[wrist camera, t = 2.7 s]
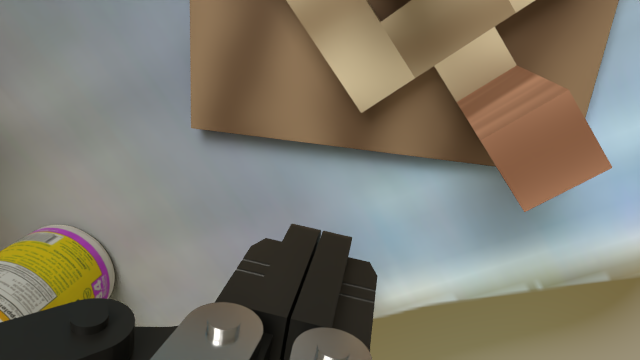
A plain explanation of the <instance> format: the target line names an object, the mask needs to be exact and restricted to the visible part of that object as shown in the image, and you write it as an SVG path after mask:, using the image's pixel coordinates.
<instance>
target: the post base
mask: <svg viewBox="0 0 640 360" xmlns="http://www.w3.org/2000/svg"><path fill="white" fill-rule="evenodd" d="M410 1H411V0H368V2H369V3H370V5H371V7H372V8H373V10H374V11H375V13H376V15H377V16H378V18H379V19H380V21H383V20H384V19H386V18H387V17H389V16H390V15H391V14H393V13H394V12H396V11H397V10H398V9H400V8H401V7H403V6H404V5H405V4H407V3H408V2H410ZM618 1H619V0H535V1H533V2H532V3H530V4H529V5H527V6H526V7H524V8H523V9H521V10H519V11H518V12H516V13H515V14H513V15H512V16H510V17H509V18H507V19H506V20H504V21H503V22H501V23H499V24H498V25H496V26H495V28H496V30H497V32H498V33H499V35H500V37H501V39H502V40H503V42H504V44H505V46H506V47H507V49H508V51H509V53H510V54H511V56H512V58H513V60H514V61H515V63H516V65H517V66H519V67H522V68H524V69H526V70H528V71H530V72H532V73H534V74H537V75H539V76H541V77H543V78H545V79H547V80H549V81H551V82H554V83H556V84H558V85H560V86H562V87H564V88H566V89H569V91H570V93H571V94H572V96H573V98H574V100H575V102H576V103H577V105H578V107H579V109H580V110H581V112H582V114H583V116H584V118H585V117H586V113H587V110H588V106H589V103H590V99H591V96H592V92H593V89H594V85H595V82H596V78H597V75H598V71H599V68H600V64H601V61H602V57H603V54H604V50H605V47H606V43H607V40H608V36H609V33H610V29H611V26H612V22H613V19H614V15H615V12H616V8H617V5H618ZM190 56H191V128H195V129H203V130H211V131H219V132H227V133H235V134H242V135H250V136H258V137H266V138H274V139H282V140H290V141H298V142H306V143H314V144H322V145H330V146H338V147H346V148H353V149H361V150H369V151H377V152H385V153H393V154H401V155H409V156H417V157H425V158H433V159H441V160H449V161H456V162H464V163H472V164H480V165H488V166H496V165H495V164H494V162H493V161H492V159H491V157H490V156H489V154H488V152H487V151H486V149H485V148H484V146H483V144H482V143H481V141H480V140H479V138H478V136H477V135H476V133H475V131H474V130H473V128H472V127H471V125H470V123H469V122H468V120H467V118H466V117H465V115H464V114H463V112H462V110H461V109H460V107H459V105H458V104H457V102H456V101H455V99H454V97H453V96H452V94H451V92H450V91H449V89H448V88H447V86H446V84H445V83H444V81H443V79H442V78H441V76H440V75H439V73H438V71H437V70H436V68H435V66H433V67H432V68H430V69H429V70H427V71H425V72H424V73H422V74H421V75H419V76H418V77H416V78H415V79H413V80H412V81H410V82H409V83H407V84H405V85H404V86H402V87H401V88H399V89H398V90H396V91H395V92H393V93H392V94H390V95H388V96H387V97H385V98H384V99H382V100H381V101H379V102H378V103H376V104H375V105H373V106H372V107H370V108H368V109H367V110H365V111H364V112H362V113H361V112H360V111H359V109H358V108H357V106H356V104H355V103H354V101H353V100H352V98H351V97H350V95H349V94H348V92H347V91H346V89H345V88H344V86H343V85H342V83H341V82H340V80H339V79H338V77H337V76H336V74H335V73H334V71H333V70H332V68H331V67H330V65H329V64H328V62H327V61H326V59H325V58H324V56H323V55H322V53H321V52H320V50H319V49H318V47H317V46H316V44H315V43H314V41H313V40H312V38H311V37H310V35H309V34H308V32H307V31H306V29H305V28H304V26H303V25H302V23H301V22H300V20H299V19H298V17H297V16H296V14H295V13H294V11H293V10H292V8H291V7H290V5H289V4H288V2H287V1H286V0H190Z"/></svg>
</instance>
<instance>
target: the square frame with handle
mask: <svg viewBox="0 0 640 360" xmlns="http://www.w3.org/2000/svg"><path fill="white" fill-rule="evenodd" d="M286 1H287V2H288V4H289V5H290V7H291V8H292V10H293V11H294V13H295V14H296V16H297V17H298V19H299V20H300V22H301V23H302V25H303V26H304V28H305V29H306V31H307V32H308V34H309V35H310V37H311V38H312V40H313V41H314V43H315V44H316V46H317V47H318V49H319V50H320V52H321V53H322V55H323V56H324V58H325V59H326V61H327V62H328V64H329V65H330V67H331V68H332V70H333V71H334V73H335V74H336V76H337V77H338V79H339V80H340V82H341V83H342V85H343V86H344V88H345V89H346V91H347V92H348V94H349V95H350V97H351V98H352V100H353V101H354V103H355V104H356V106H357V108H358V109H359V111H360V112H361V113H362V112H364V111H365V110H367V109H368V108H370V107H372V106H373V105H375V104H376V103H378V102H379V101H381V100H382V99H384V98H385V97H387V96H388V95H390V94H392V93H393V92H395V91H396V90H398V89H399V88H401V87H402V86H404V85H405V84H407V83H409V82H410V81H412V80H413V79H415V78H416V77H418V76H419V75H421V74H422V73H424V72H425V71H427V70H429V69H430V68H432V67H433V66H435V68H436V70H437V71H438V73H439V75H440V76H441V78H442V79H443V81H444V83H445V84H446V86H447V88H448V89H449V91H450V92H451V94H452V96H453V97H454V99H455V101H456V102H457V104H458V105H459V107H460V109H461V110H462V112H463V114H464V115H465V117H466V118H467V120H468V122H469V123H470V125H471V127H472V128H473V130H474V131H475V133H476V135H477V136H478V138H479V140H480V141H481V143H482V144H483V146H484V148H485V149H486V151H487V152H488V154H489V156H490V157H491V159H492V161H493V162H494V164H495V165H496V167H497V169H498V170H499V172H500V173H501V175H502V177H503V178H504V180H505V181H506V183H507V185H508V186H509V188H510V190H511V191H512V193H513V194H514V196H515V198H516V199H517V201H518V202H519V204H520V206H521V207H522V209H523V210H524V212H526V211H528V210H530V209H532V208H534V207H536V206H538V205H540V204H542V203H543V202H545V201H547V200H549V199H551V198H553V197H555V196H557V195H559V194H561V193H563V192H565V191H567V190H569V189H571V188H573V187H575V186H577V185H579V184H581V183H583V182H585V181H587V180H589V179H591V178H593V177H595V176H597V175H599V174H601V173H603V172H605V171H607V170H609V169H611V168H612V166H611V164H610V162H609V161H608V159H607V157H606V155H605V153H604V152H603V150H602V148H601V146H600V145H599V143H598V141H597V139H596V137H595V136H594V134H593V132H592V130H591V128H590V127H589V125H588V123H587V121H586V119H585V118H584V116H583V114H582V112H581V110H580V109H579V107H578V105H577V103H576V102H575V100H574V98H573V96H572V94H571V93H570V91H569V89H566V88H564V87H562V86H560V85H558V84H556V83H554V82H551V81H549V80H547V79H545V78H543V77H541V76H539V75H537V74H534V73H532V72H530V71H528V70H526V69H524V68H522V67H519V66H517V65H516V63H515V61H514V60H513V58H512V56H511V54H510V53H509V51H508V49H507V47H506V46H505V44H504V42H503V40H502V39H501V37H500V35H499V33H498V32H497V30H496V28H495V26H496V25H498V24H499V23H501V22H503V21H504V20H506V19H507V18H509V17H510V16H512V15H513V14H515V13H516V12H518V11H519V10H521V9H523V8H524V7H526V6H527V5H529V4H530V3H532V2H533V1H535V0H411V1H410V2H408V3H407V4H405V5H404V6H403V7H401V8H400V9H398V10H397V11H396V12H394V13H393V14H391V15H390V16H389V17H387V18H386V19H384V20H383V21H380V19H379V18H378V16H377V15H376V13H375V11H374V10H373V8H372V7H371V5H370V3H369V2H368V0H286Z"/></svg>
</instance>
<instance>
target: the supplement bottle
mask: <svg viewBox="0 0 640 360" xmlns="http://www.w3.org/2000/svg"><path fill="white" fill-rule="evenodd" d="M114 282H115V273H114V268H113V264H112V261H111V259H110V257H109V255H108V254H107V252H106V250H105V249H104V248H103V246H102V245H101V244H100V243H99V242H98V241H97V240H96V239H94V238H93V237H92V236H90V235H89V234H87V233H85V232H84V231H82V230H80V229H77V228H75V227H72V226H67V225H49V226H45V227H42V228H39V229H38V230H36V231H34V232H32V233H30V234H28V235H27V236H25V237H23V238H22V239H20V240H18V241H17V242H15V243H13V244H12V245H10V246H8V247H7V248H5V249H4V250H2V251H0V322H4V321H7V320H11V319H14V318H18V317H21V316H25V315H28V314H32V313H36V312H39V311H43V310H46V309H50V308H53V307H57V306H60V305H64V304H67V303H71V302H75V301H79V300H83V299H90V298H105V299H109V297H110V295H111V293H112V291H113V287H114Z"/></svg>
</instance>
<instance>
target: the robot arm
mask: <svg viewBox="0 0 640 360" xmlns="http://www.w3.org/2000/svg"><path fill="white" fill-rule="evenodd" d="M320 236H321V238H320ZM351 241H352V237H348V236H344V235H340V234H335V233H331V232H327V231H323V232H322V235H321V230H318V229H313V228H309V227H305V226H300V225H296V224H291V226H290V228H289V229H288V231H287V233H286V235H285V237H284V239H283V241H282V242H280V241H276V240H272V239H268V238H265V239H263V240H262V241H260V242H258V243H256V244H254V245H252V246H251V247H250V249H249V250H248V252H247V253H246V255H245V256H244V258H243V260H242V261H241V263H240V264H239V266H238V267H237V270H235V272H234V273H233V275H232V277H231V278H230V280H229V281H228V283H227V284H226V286H225V287H224V289H223V290H222V292H221V294H220V295H219V297H218V298H217V300H216V301H215V303H210V304H206V305H203V306H200V307H198V308H196V309H195V310H193V311H192V312H191V313H190V314H188V315H187V317H186V318H185V319H184V320H183V321H182V322H181V324H180V325H179V326H174V327H135V317H134V314H133V312H132V310H131V309H130V308H129V307H128V306H126V305H125V304H123V303H121V302H119V301H115V300H112V299H105V298H90V299H83V300H79V301H75V302H71V303H67V304H64V305H60V306H57V307H53V308H50V309H46V310H43V311H39V312H36V313H32V314H28V315H25V316H21V317H18V318H14V319H11V320H7V321H4V322H0V360H372V357H371V354H370V342H371V331H372V322H373V312H374V302H375V293H376V292H375V291H376V283H377V275H376V273H375V271H374V269H373V267H372V266H371V264H370V262H366V261H362V260H358V259H353V258H349V257H348V255H349V250H350V246H351Z"/></svg>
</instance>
